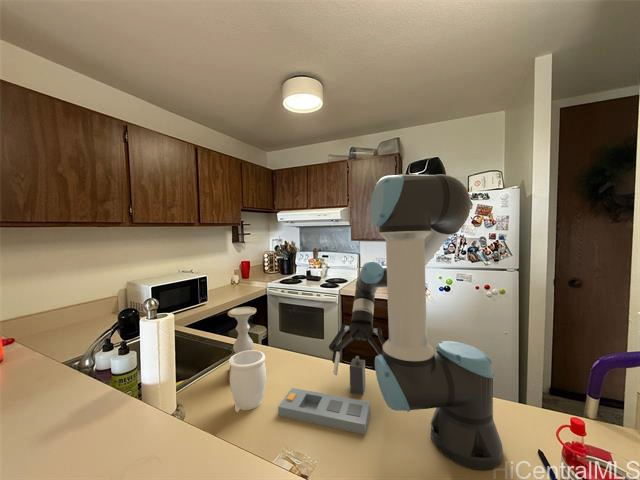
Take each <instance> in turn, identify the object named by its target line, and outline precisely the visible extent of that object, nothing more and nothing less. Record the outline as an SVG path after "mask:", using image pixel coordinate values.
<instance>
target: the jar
mask: <svg viewBox="0 0 640 480" xmlns="http://www.w3.org/2000/svg"><path fill="white" fill-rule="evenodd" d="M265 361H266V354H265V352H264V351H260V350H256V349H252V350H247V351H242V352H239V353H235V354H234V355H232V356H230V358H229V361H228V363H229V367H230V366H231V371H230V384H229V386H230V390H231V396H232V399H233V401H234V403H235V405H234V411H235V413H238V412H239V411H241V410H243V411H248V410H252V409H255V408H257V407H259V406H260V405H261V403H262V401H263V398H264V395H265V392H266V391H265V390H266V382H267V369H266V363H265Z"/></svg>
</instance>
